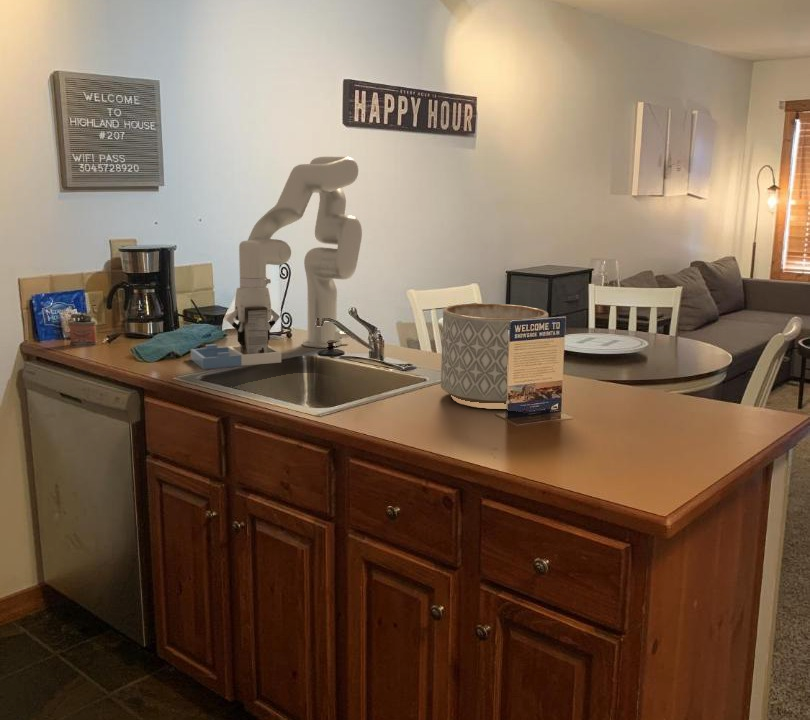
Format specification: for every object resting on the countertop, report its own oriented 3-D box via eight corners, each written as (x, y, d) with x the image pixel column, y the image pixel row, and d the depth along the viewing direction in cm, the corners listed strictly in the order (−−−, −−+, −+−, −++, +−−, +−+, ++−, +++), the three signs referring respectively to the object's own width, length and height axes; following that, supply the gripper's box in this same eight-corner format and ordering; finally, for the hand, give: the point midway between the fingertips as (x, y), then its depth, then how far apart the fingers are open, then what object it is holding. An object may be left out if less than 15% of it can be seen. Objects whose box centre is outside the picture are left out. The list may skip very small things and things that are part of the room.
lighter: (98, 344, 253) (96, 313, 251) (94, 346, 250) (93, 314, 248) (72, 343, 253) (70, 312, 250) (68, 345, 249) (66, 314, 247)
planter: (468, 417, 182) (472, 321, 177) (424, 390, 205) (426, 305, 200) (563, 408, 191) (569, 317, 187) (510, 384, 215) (515, 302, 210)
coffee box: (239, 357, 239) (238, 303, 236) (260, 355, 242) (259, 303, 239) (247, 363, 231) (246, 308, 228) (268, 361, 234) (268, 307, 230)
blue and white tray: (265, 353, 245) (265, 340, 245) (281, 362, 233) (281, 349, 233) (190, 359, 235) (190, 345, 234) (203, 368, 223) (202, 355, 222)
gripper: (276, 281, 239) (277, 339, 243) (219, 282, 231) (221, 343, 235) (285, 283, 233) (286, 343, 236) (227, 285, 224) (228, 348, 228)
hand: (253, 343), depth 236 cm, fingers closed on coffee box, 6 cm apart
